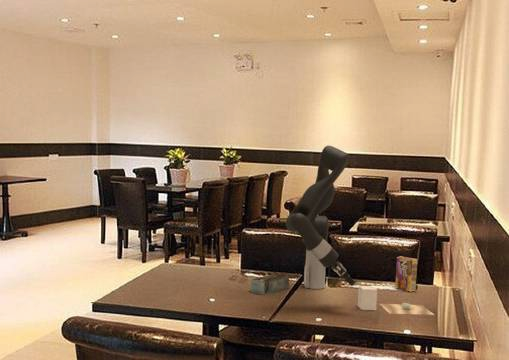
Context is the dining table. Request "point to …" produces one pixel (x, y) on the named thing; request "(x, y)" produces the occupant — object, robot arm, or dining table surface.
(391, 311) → the board
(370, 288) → the white upright block
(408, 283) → the candy box
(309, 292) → the dining table surface
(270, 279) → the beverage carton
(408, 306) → the grey rounded lump
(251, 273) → the dining table surface
